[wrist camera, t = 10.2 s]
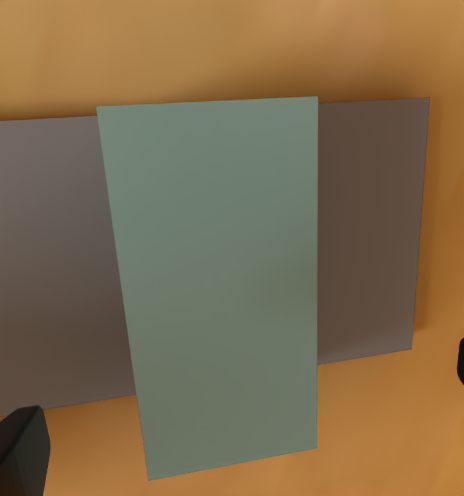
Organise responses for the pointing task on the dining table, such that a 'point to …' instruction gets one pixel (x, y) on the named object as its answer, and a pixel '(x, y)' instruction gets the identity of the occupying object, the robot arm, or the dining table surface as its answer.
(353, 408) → the dining table surface
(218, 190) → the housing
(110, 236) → the plate
